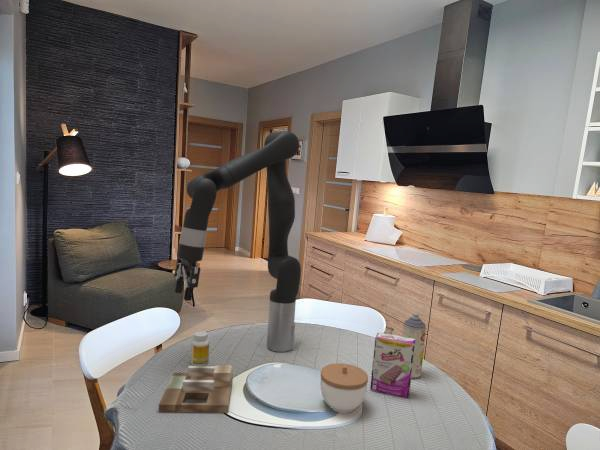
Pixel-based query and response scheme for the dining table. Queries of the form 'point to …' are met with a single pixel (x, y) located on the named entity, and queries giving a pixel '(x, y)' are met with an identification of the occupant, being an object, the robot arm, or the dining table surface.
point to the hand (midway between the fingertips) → (182, 296)
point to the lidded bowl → (343, 386)
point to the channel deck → (195, 392)
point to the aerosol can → (416, 331)
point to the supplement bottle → (200, 349)
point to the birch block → (222, 376)
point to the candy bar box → (392, 364)
